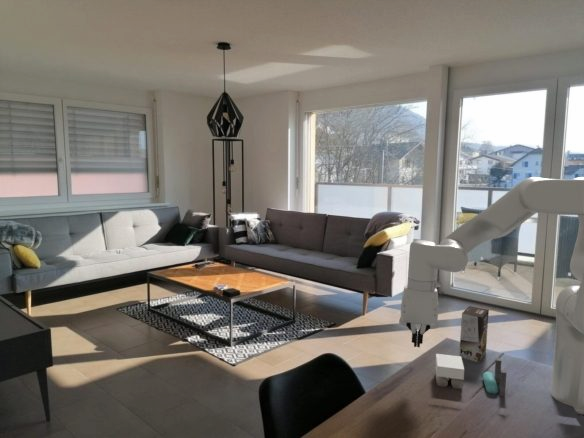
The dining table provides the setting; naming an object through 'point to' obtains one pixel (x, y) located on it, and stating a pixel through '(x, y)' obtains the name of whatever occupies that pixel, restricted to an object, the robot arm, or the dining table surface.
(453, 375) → the slab
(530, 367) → the dining table surface
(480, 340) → the coffee box
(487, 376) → the roller
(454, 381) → the roller bed
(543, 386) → the dining table surface
